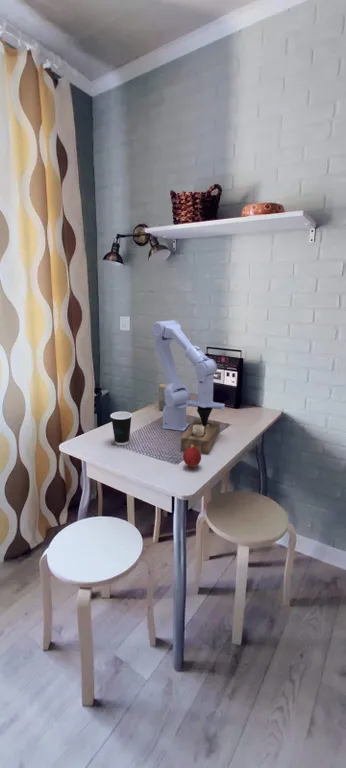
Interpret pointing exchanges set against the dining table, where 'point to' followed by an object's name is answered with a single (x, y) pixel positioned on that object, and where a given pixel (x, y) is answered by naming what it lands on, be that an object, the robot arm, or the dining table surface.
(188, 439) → the walnut block
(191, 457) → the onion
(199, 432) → the peg front
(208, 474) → the dining table surface
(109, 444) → the dining table surface
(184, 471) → the dining table surface
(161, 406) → the carving
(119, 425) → the dixie cup
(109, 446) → the dining table surface
